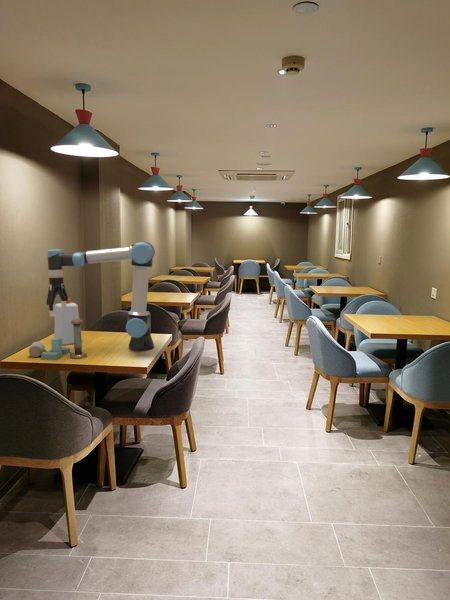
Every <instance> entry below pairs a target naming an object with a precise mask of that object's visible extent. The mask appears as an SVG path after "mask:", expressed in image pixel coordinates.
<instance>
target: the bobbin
mask: <svg viewBox="0 0 450 600" xmlns="http://www.w3.org/2000/svg"><path fill="white" fill-rule="evenodd" d="M71 324H73V331H74V344H73V346H74V352H73V353H72V352H71V353H69V358H70V359H73V360H81V359H85V358H87V356H88V354H87V352H84V351H83V346H82V345H83V344H82V341H81V337H82V324H83V319H79V320H71Z"/></svg>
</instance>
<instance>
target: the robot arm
mask: <svg viewBox="0 0 450 600" xmlns="http://www.w3.org/2000/svg"><path fill="white" fill-rule="evenodd" d="M46 253H47V267H48V268H47V269H48V277H49V278H48V280H49V281H48V282H49V285H51V286H48V293H47V297H46V303H45V304H46V305H47V306H49V307H48V308H49V317H55V303H54V302H55V300H56V297H57V295H58V296H59V298H60V303H61V307H62V312H67V307H66V301H68V299H69V297H68V294H67V291H66V287H65V284H64V277H63V276H64V272H63V267H83V266H84V265H88V264H98V263H109V262H117V261H118V262H119V261H130V260H131V265H130V266H131V267H132V268H133V275H132V276H133V277H132V293H131V302H130V303H131V304H130V305H131V306H130V310H129V311H128V312H127V322H126V325H125V331H126V332H127V334H128V335H129V336H130V340H129V343H128V350H129V351H134V352H145V351H150V350H153V349H155V344H154V340H153V338H152V333H151V330H152V329H151V316H152V315H151V312H150V311H149V310H147V305H148V304H147V303H148V291H149V289H148V288H149V277H150V276H149V275H150V269H151V268H153V259H154V256H155V254H156V251H155V248H154V245H153V244H152V243H150V242H147V241H140V242H136V243H134V244H130V245H129V246H123V247H114V248H113V247H112V248H104V249H94V250H82V251H76V252H62V250H61V249H59V248H58V249H57V248H56V249H48V250H47V252H46ZM61 300H62V301H61Z"/></svg>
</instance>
